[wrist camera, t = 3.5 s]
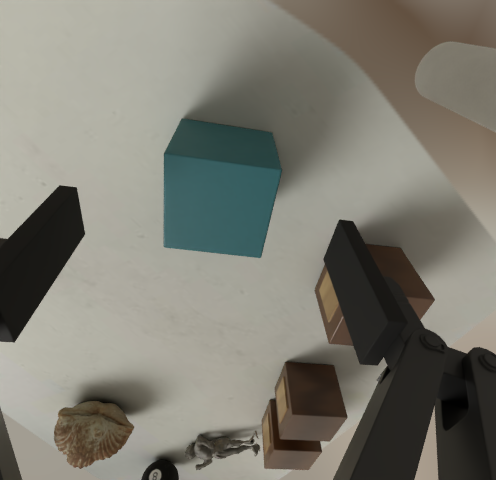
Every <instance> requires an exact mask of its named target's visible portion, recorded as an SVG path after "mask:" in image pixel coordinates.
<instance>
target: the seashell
mask: <svg viewBox="0 0 496 480" xmlns="http://www.w3.org/2000/svg"><path fill="white" fill-rule="evenodd" d="M58 417H59V419H58V421H57V424H56V426H55V430H54V440H55V443H56V446H57V447H58V450H59V451H62V452H63V454H64V455H65V454H66V455H67V462H68V463H69V464H70V465H73V467H79V468H80V469H81V468H83V467H84V466H85V467H87V466H88V465H91V464H92V463H93V462H94V461H95V460H104V459H105V458H110V457H111V456H112V455H113V454H116V453H117V452H118V450H119V449H121V448H122V446H124V445H125V443H126V441H127V439H128V438H129V435H130V434H131V433H132V430H133V428H134V426H133V425H132V424H131V423H130V422H129V421H128V419H127V417H126V415H125V414H124V412H123V411H122V410H121V409H120V408H119V407H118V406H117V405H116V404H113V403H106V404H105V403H101V402H99V401H88V402H84V403H81V404H78V405H76V406H75V407H73V408H66V407H65V408H63V409H61V410H60V411H59V412H58Z"/></svg>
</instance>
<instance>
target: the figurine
mask: <svg viewBox="0 0 496 480" xmlns="http://www.w3.org/2000/svg"><path fill="white" fill-rule="evenodd" d="M255 432H256V431H255ZM253 437H254V436H252V438H251V439H250V440H249V441H242V440H229V438H225V437H222V438H220V439H214V440H211V441H209V440H207V439H205V438H203V437H202V436H200V435H199V436H198V437H197V439H196V443H195V444H191V445H189V446H188V447H187V449H186V451H185V457H188V459H192V458H194V457H195V456H198V457H199V458H200V459H203V460H204V461H205V462H204V463H203V464H200V465H199V464H197V465H196V470H200V469H201V468H203V467H206V466H207V465H209V464H211V463H212V460H211V459H212V458H213V457H215V458H218V459H222V458H226V457H227V456H230V455H233V454H237V453H238V454H239V453H240V452H242V451H243V450H247V449H249V448H250V449H251V448H252V450H253V451H254V453H255V454H256V455H257V454H258V450H259V451H260V446H259V445H258V444H257V443H256V444H255V445H252V446H246V445H242V446H240V445H241V444H242V443H245V444H253V443H254V439H253ZM256 437H257V433H256ZM257 438H258V437H257ZM258 439H259V438H258ZM216 440H217V441H216ZM214 441H215V444H214ZM233 446H237V448H230V447H233ZM239 446H240V447H239ZM256 455H255V456H256Z"/></svg>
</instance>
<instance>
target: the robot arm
mask: <svg viewBox="0 0 496 480" xmlns="http://www.w3.org/2000/svg"><path fill="white" fill-rule="evenodd" d="M84 235H85V231H84V225H83V220H82V214H81V209H80V203H79V197H78V192H77V187H69V186H59V187H58V188H57V189H56V190H55V191H54V192H53V193H52V194H51V195H50V196H49V197H48V198H47V199H46V200H45V201H44V202H43V203H42V204H41V205H40V206H39V207H38V208H37V209H36V210H35V211H34V212H33V213H32V214H31V216H30V217H29V218H28V219H27V220H26V221H25V222H24V223H23V224H22V225H21V226H20V227H19V228H18V229H17V230H16V231H15V232H14V233H13V234H12V235H11V236H10V237H9V238H8V239H3V238H0V341H1V342H15V341H16V339H17V338H18V336H19V335H20V333H21V332H22V330H23V329H24V327H25V326H26V324H27V322H28V321H29V319H30V318H31V316H32V315H33V313H34V312H35V310H36V309H37V307H38V306H39V304H40V303H41V301H42V299H43V298H44V296H45V295H46V293H47V292H48V290H49V289H50V287H51V286H52V284H53V283H54V281H55V279H56V278H57V276H58V275H59V273H60V272H61V270H62V269H63V267H64V266H65V264H66V263H67V261H68V260H69V258H70V256H71V255H72V253H73V252H74V250H75V249H76V247H77V246H78V244H79V243H80V241H81V240H82V238H83V237H84ZM324 262H325V265H326V268H327V271H328V274H329V277H330V279H331V282H332V285H333V288H334V291H335V294H336V297H337V300H338V302H339V305H340V308H341V311H342V314H343V317H344V320H345V323H346V325H347V328H348V331H349V334H350V337H351V340H352V343H353V346H354V348H355V351H356V354H357V357H358V360H359V363H360V364H363V365H378V364H379V363H380V361H381V360H382V359H383V357H384V358H385V361H386V363H387V365H388V366H387V367H386V368H385V370H384V371H383V372H382V374H381V375H380V376H379V378H378V379H377V381H378V384H377V386H376V389H375V391H374V393H373V395H372V397H371V399H370V401H369V404H368V406H367V408H366V410H365V412H364V414H363V416H362V419H361V421H360V423H359V425H358V427H357V429H356V431H355V434H354V436H353V438H352V440H351V442H350V444H349V446H348V449H347V451H346V453H345V455H344V457H343V459H342V461H341V464H340V466H339V468H338V470H337V472H336V474H335V476H334V479H333V480H414V478H415V475H416V471H417V468H418V464H419V460H420V457H421V453H422V449H423V446H424V442H425V438H426V434H427V430H428V427H429V424H430V420H431V416H432V412H433V409H434V405H435V421H436V439H437V457H438V458H437V459H438V478H439V480H496V355H495V354H494V353H492V352H491V351H489V350H487V349H483V348H480V347H477V348H473V349H472V350H470V351H469V352H468V354H466V353H463V352H461V351H458V350H455V349H452V348H449V347H447V345H446V343H445V342H444V341H443V340H442V338H441V337H440V336H438V335H437V334H435V333H434V332H432V331H430V330H428V329H425V328H424V326H423V324H422V323H421V321H420V319H419V317H418V316H417V314H416V312H415V311H414V309H413V307H412V306H411V304H410V303H409V300H408V299H407V297H406V296H405V294H404V292H403V290H402V289H401V287H400V285H399V284H398V283H397V282H396V281H395V280H394V279H392V278H391V277H387V276H383V275H382V274H381V272H380V270H379V268H378V266H377V264H376V263H375V261H374V259H373V257H372V255H371V253H370V252H369V250H368V248H367V246H366V244H365V242H364V241H363V239H362V237H361V235H360V233H359V231H358V230H357V228H356V226H355V224H354V222H353V221H347V220H339V221H338V224H337V226H336V229H335V231H334V234H333V236H332V239H331V242H330V244H329V247H328V249H327V252H326V254H325V257H324ZM0 480H22V478H21V474H20V471H19V468H18V464H17V461H16V458H15V454H14V451H13V448H12V445H11V441H10V438H9V435H8V432H7V428H6V425H5V421H4V418H3V415H2V411H1V408H0Z"/></svg>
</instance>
